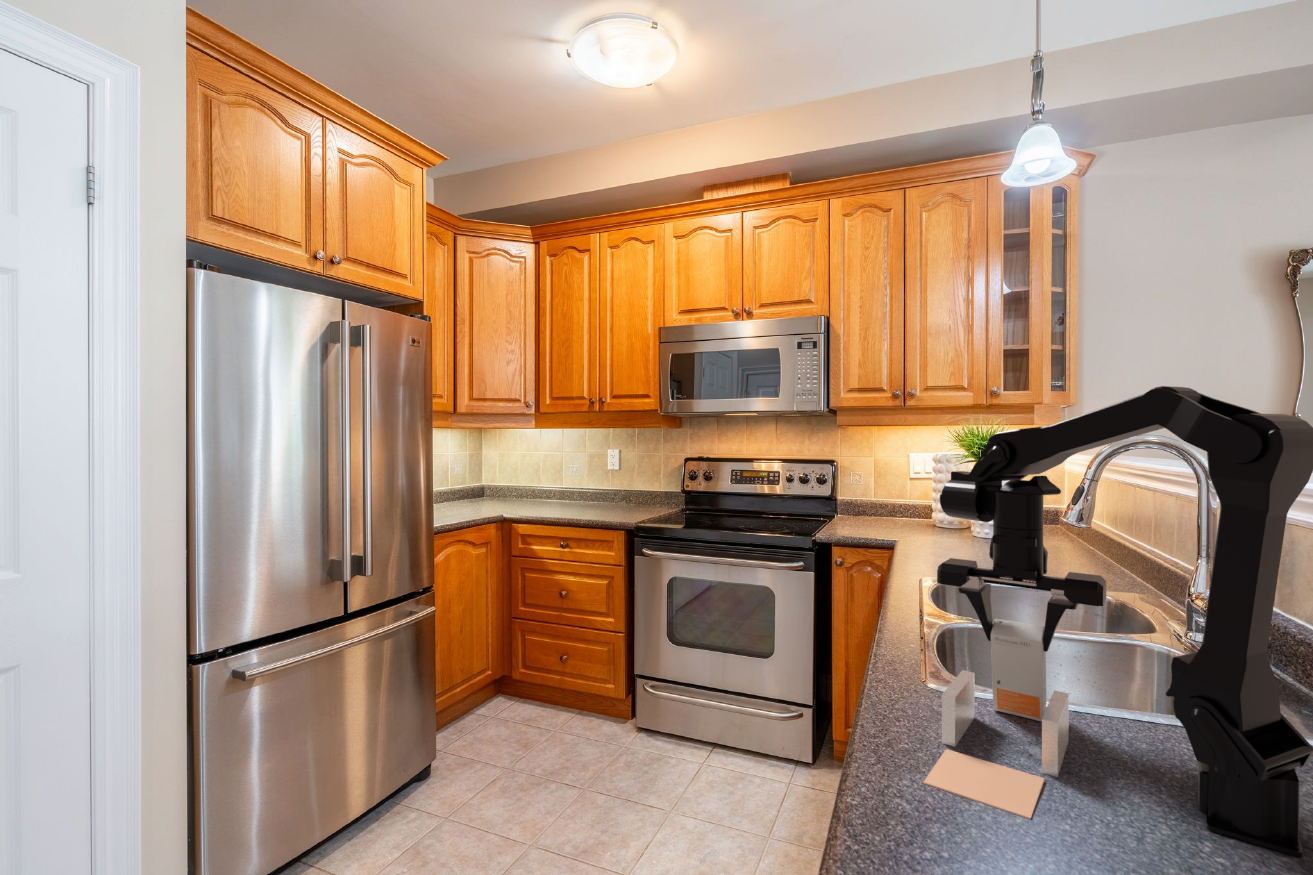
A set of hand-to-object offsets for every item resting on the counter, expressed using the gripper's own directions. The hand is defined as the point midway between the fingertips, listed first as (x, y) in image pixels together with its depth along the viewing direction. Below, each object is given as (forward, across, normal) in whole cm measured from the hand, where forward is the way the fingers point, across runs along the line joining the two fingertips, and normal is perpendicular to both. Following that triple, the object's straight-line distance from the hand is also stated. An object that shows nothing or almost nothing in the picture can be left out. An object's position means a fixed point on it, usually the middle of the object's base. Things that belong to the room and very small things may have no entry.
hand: (1017, 645), depth 82 cm
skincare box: (+10, 0, -3) cm, 10 cm away
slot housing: (+10, 0, +8) cm, 12 cm away
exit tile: (+10, 0, +19) cm, 22 cm away
